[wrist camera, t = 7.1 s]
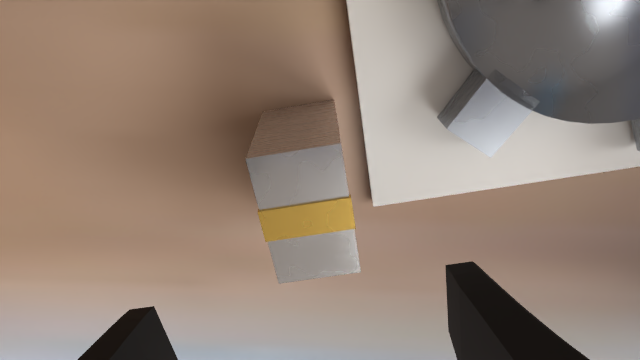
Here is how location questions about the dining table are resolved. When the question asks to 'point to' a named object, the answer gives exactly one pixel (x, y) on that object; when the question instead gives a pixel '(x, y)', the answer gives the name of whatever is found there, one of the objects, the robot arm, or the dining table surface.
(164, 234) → the dining table surface
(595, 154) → the base plate
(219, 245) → the dining table surface
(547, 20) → the sprocket
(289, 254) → the yellow banded block
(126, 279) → the dining table surface
